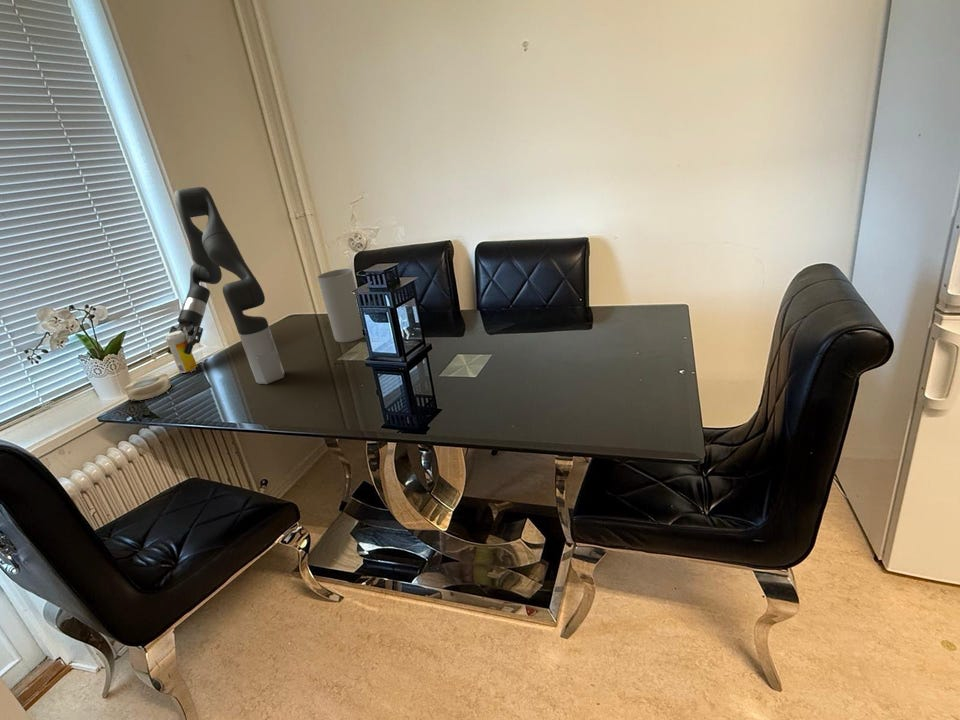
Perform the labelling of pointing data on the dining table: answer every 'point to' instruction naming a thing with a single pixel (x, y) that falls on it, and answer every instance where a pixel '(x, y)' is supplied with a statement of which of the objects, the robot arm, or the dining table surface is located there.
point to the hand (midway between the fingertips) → (178, 353)
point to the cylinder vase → (341, 304)
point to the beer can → (180, 351)
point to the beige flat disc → (148, 387)
